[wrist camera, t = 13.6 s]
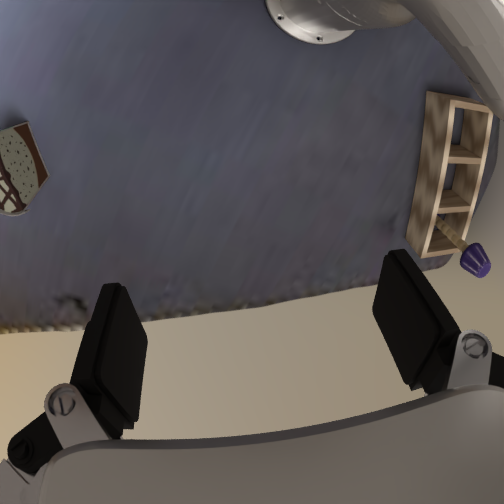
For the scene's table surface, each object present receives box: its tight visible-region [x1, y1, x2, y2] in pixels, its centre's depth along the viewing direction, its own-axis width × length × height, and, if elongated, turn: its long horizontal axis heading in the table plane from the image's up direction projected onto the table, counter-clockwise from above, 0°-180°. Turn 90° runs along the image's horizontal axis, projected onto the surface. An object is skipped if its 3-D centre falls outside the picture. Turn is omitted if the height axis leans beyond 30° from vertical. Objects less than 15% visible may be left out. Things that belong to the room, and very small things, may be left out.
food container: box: [0, 121, 50, 216], centre depth 33 cm, size 12×6×10 cm, turn 11°
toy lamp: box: [434, 214, 491, 278], centre depth 43 cm, size 5×5×17 cm
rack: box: [405, 91, 493, 258], centre depth 43 cm, size 26×10×6 cm, turn 4°
